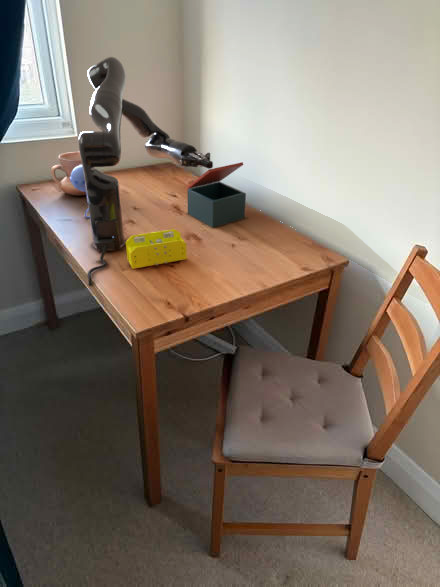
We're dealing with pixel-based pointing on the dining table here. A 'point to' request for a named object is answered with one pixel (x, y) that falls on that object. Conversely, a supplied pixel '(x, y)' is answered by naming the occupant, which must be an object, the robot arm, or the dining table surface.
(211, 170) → the sorter lid
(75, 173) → the baby rattle
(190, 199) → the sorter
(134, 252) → the yellow toy chassis
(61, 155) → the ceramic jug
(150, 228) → the dining table surface
